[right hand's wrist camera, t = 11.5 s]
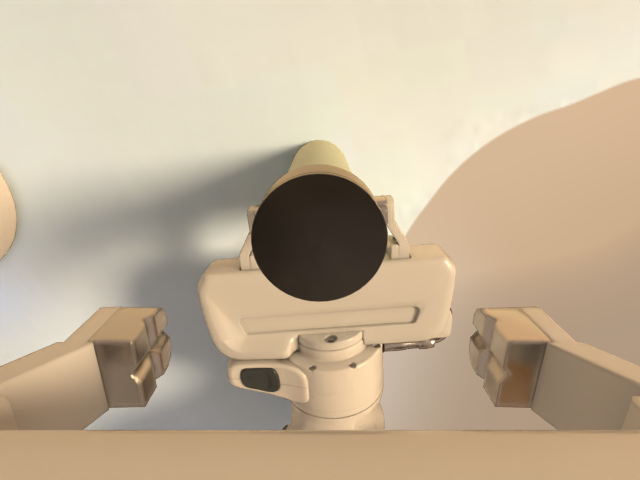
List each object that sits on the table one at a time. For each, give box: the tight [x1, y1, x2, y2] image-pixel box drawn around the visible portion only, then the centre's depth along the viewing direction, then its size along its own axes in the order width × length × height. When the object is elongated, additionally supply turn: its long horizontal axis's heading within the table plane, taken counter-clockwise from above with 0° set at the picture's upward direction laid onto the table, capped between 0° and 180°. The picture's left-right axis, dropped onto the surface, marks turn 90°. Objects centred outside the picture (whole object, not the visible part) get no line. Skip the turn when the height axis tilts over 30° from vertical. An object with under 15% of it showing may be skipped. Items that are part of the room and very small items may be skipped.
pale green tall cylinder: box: [288, 140, 351, 172], centre depth 25 cm, size 5×5×18 cm
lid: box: [251, 164, 388, 302], centre depth 17 cm, size 6×6×2 cm
